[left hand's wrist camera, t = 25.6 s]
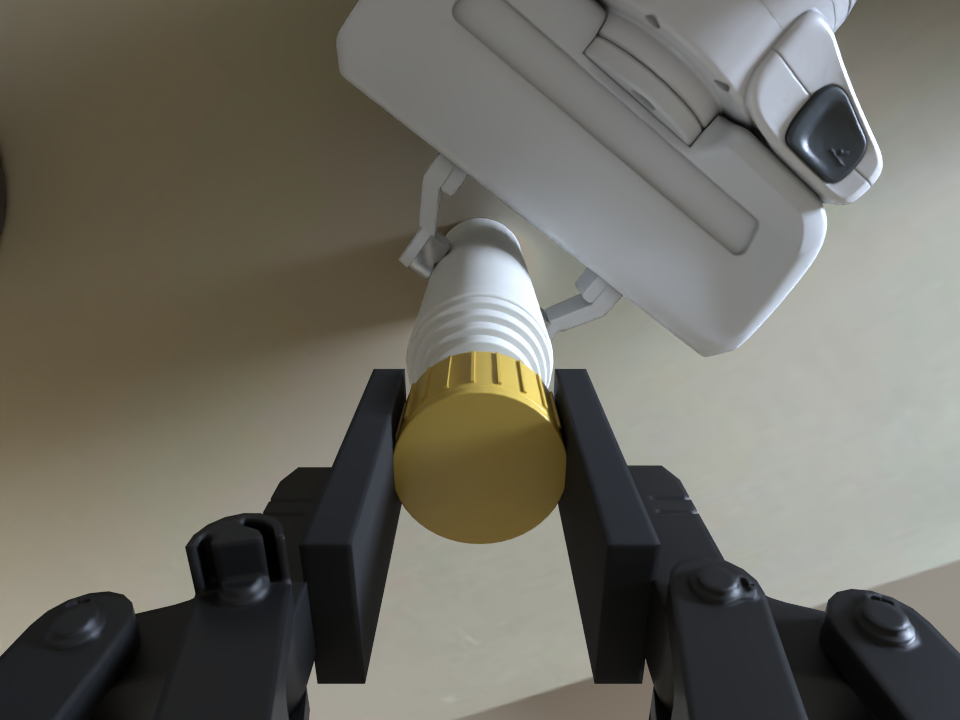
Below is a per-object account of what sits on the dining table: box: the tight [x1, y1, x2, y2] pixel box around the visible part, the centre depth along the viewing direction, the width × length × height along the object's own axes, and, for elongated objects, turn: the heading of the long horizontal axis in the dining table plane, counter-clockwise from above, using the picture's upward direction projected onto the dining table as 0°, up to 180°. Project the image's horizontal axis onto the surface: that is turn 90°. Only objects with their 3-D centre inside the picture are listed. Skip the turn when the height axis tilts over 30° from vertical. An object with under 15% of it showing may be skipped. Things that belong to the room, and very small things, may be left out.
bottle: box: [407, 218, 553, 389], centre depth 23 cm, size 4×4×20 cm
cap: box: [393, 350, 567, 544], centre depth 14 cm, size 4×4×2 cm
